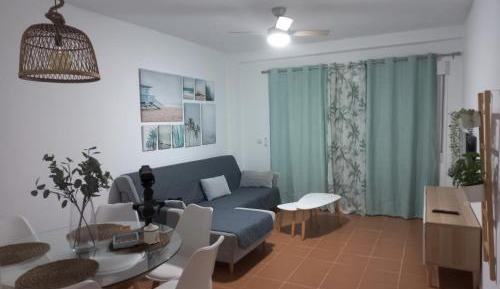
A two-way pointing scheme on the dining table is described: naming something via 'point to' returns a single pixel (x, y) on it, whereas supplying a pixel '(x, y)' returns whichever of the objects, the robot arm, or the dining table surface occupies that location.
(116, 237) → the big crate
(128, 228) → the small crate
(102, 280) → the dining table surface
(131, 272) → the dining table surface
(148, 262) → the dining table surface
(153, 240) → the teacup with lid
